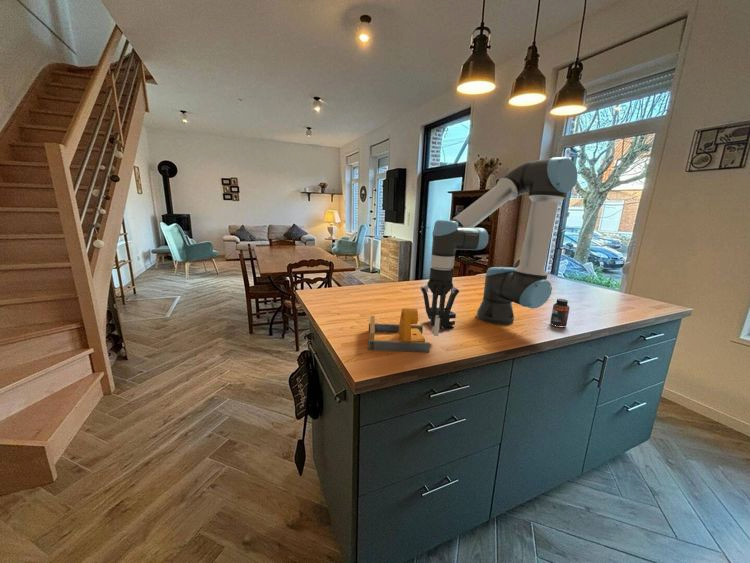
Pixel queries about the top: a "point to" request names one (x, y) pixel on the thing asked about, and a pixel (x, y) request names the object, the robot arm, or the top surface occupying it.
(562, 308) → the supplement bottle
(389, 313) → the top surface
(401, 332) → the bracket
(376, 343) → the rail
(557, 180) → the robot arm
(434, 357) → the top surface
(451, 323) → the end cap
